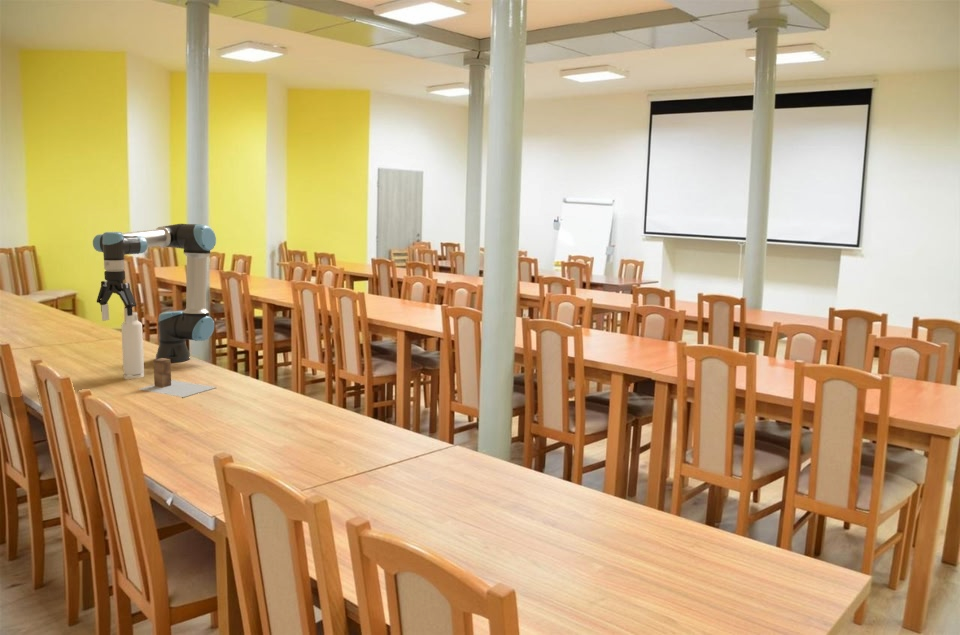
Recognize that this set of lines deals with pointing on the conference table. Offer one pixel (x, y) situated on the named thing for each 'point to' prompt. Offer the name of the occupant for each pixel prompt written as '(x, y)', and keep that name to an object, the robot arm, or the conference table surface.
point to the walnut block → (162, 372)
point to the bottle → (132, 348)
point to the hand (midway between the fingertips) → (117, 322)
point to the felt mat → (179, 389)
